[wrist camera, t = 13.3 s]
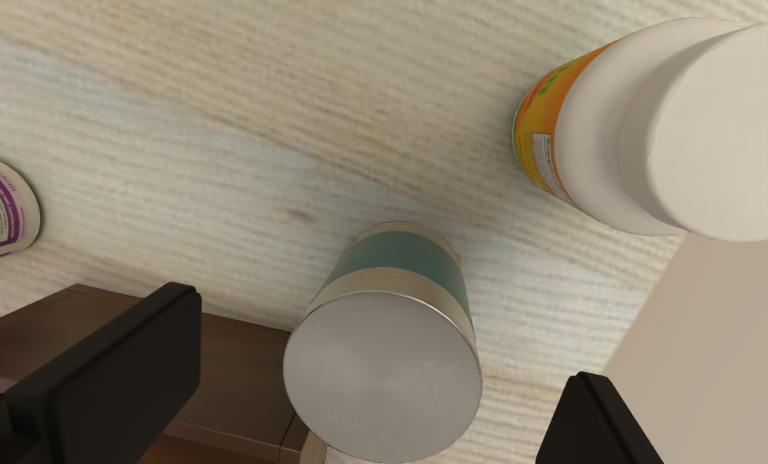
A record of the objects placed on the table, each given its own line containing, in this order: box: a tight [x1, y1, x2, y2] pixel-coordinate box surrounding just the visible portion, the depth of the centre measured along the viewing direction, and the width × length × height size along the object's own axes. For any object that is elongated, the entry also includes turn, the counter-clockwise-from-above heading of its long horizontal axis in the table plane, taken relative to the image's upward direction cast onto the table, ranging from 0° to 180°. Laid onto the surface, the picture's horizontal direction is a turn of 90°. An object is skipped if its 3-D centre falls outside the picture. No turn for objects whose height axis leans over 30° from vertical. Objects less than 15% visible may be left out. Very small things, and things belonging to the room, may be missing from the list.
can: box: [283, 221, 482, 463], centre depth 15 cm, size 6×6×8 cm
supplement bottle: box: [512, 17, 768, 242], centre depth 11 cm, size 5×5×10 cm
